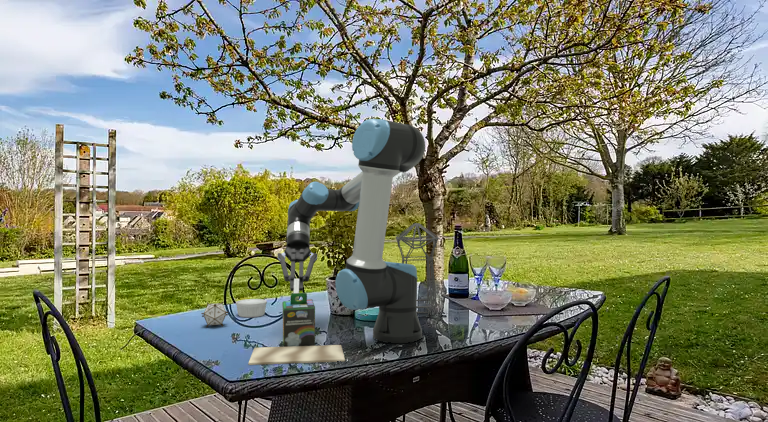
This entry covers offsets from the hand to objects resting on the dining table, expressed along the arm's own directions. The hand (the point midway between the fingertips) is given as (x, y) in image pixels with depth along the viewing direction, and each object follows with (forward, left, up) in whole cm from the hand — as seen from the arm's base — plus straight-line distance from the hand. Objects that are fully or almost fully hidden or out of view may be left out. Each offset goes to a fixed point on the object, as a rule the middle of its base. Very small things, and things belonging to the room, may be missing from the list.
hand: (296, 298), depth 145 cm
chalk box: (-1, +4, -12) cm, 13 cm away
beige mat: (-1, +16, -12) cm, 20 cm away
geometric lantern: (-44, -30, -12) cm, 55 cm away
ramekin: (+17, -38, -13) cm, 44 cm away
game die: (+27, -21, -13) cm, 37 cm away
